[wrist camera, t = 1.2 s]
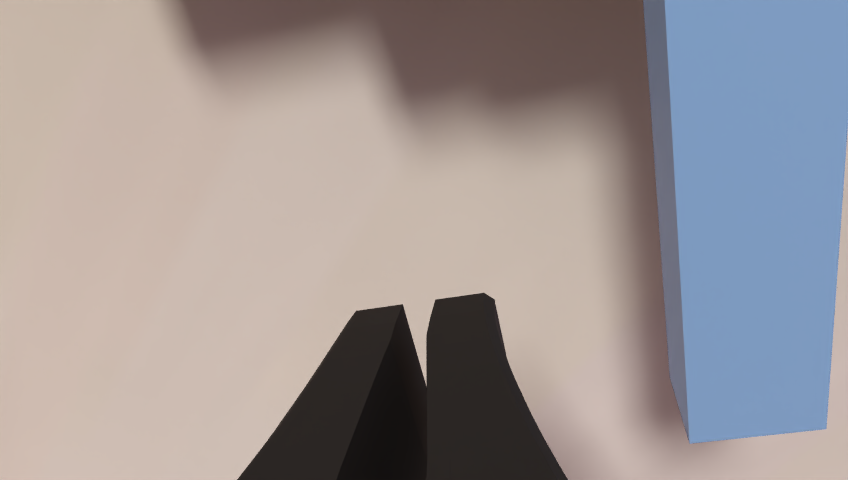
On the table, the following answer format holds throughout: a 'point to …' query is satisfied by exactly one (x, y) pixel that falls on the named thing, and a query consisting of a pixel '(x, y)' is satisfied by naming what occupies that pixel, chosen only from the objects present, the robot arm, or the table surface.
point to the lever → (749, 205)
